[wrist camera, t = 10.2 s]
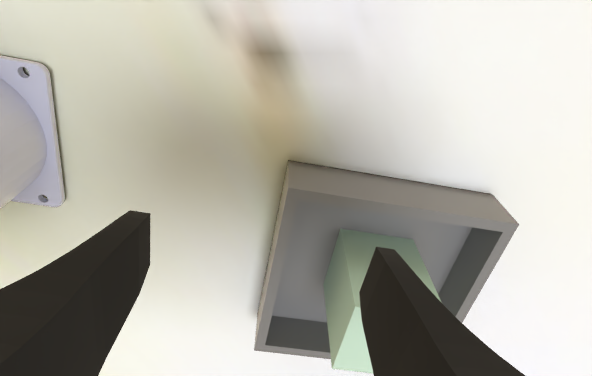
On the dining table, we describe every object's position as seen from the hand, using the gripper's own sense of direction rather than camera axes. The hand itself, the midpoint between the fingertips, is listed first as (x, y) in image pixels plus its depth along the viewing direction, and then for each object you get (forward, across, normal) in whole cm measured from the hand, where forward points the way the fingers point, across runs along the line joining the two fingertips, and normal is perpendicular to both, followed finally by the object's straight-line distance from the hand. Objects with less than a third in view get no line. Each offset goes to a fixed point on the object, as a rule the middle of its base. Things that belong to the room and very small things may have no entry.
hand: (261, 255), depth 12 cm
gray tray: (+9, -7, +7) cm, 14 cm away
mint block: (+9, -7, +7) cm, 13 cm away
